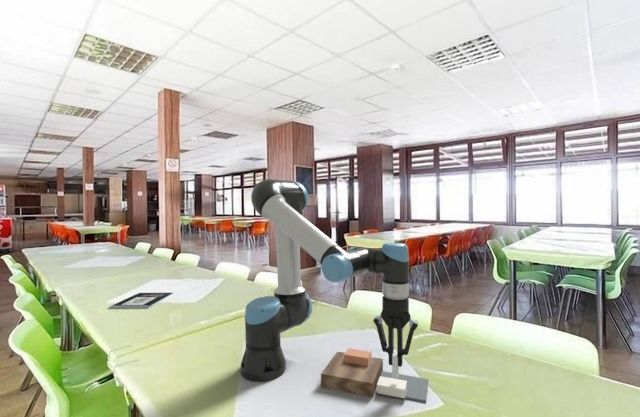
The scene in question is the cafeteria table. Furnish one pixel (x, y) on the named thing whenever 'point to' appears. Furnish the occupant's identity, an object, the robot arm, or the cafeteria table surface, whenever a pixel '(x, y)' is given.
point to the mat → (412, 386)
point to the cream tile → (392, 387)
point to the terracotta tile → (357, 356)
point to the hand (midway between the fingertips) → (395, 376)
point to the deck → (352, 375)
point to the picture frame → (141, 300)
